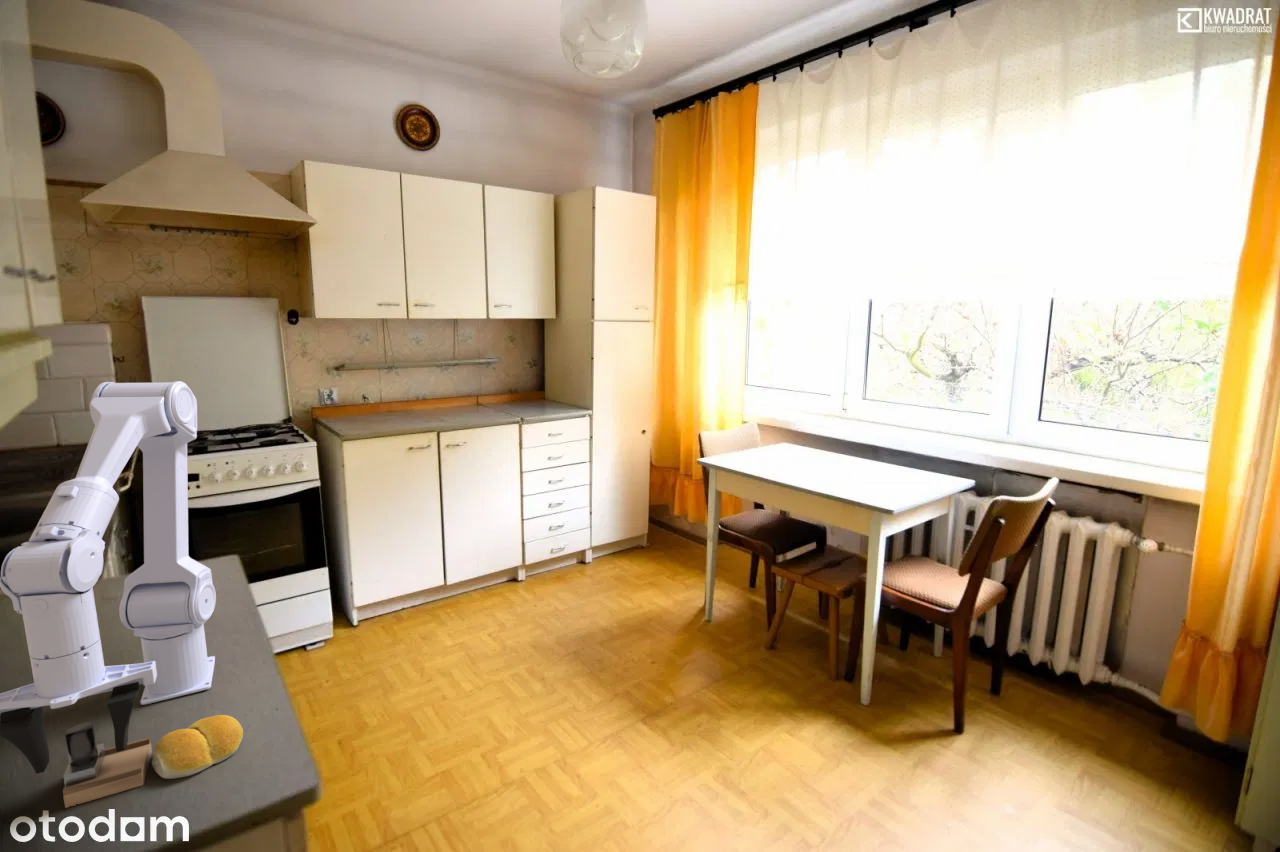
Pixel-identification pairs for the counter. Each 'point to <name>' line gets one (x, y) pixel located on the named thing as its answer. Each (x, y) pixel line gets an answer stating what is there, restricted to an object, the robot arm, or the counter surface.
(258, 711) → the counter surface
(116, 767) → the press bed
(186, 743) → the bread roll
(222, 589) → the counter surface
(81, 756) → the jaw
